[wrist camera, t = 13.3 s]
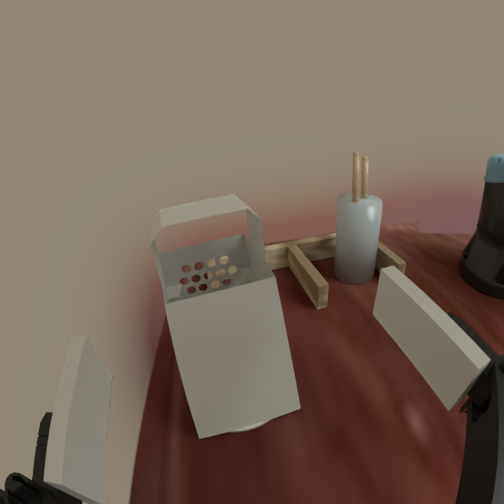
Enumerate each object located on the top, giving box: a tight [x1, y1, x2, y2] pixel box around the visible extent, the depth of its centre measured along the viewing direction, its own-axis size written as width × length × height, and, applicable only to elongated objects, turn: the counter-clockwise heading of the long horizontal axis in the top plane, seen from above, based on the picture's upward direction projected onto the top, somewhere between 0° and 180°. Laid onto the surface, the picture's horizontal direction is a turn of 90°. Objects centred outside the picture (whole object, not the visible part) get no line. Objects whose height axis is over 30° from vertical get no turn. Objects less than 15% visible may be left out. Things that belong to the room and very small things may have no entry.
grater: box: [151, 194, 301, 439], centre depth 24 cm, size 10×10×20 cm
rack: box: [207, 233, 406, 309], centre depth 45 cm, size 30×14×4 cm, turn 104°
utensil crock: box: [334, 151, 382, 285], centre depth 42 cm, size 7×7×20 cm
